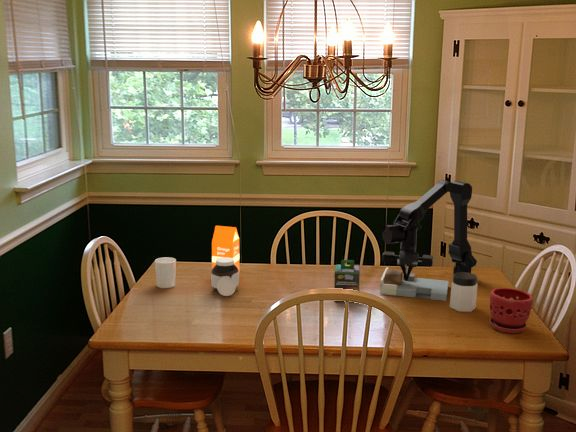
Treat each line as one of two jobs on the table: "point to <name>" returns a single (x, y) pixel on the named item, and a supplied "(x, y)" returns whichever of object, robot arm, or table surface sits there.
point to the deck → (416, 288)
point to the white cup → (165, 272)
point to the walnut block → (393, 277)
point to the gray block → (410, 277)
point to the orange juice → (225, 244)
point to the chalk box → (347, 275)
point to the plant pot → (510, 309)
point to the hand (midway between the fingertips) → (406, 280)
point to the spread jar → (225, 276)
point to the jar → (463, 292)
